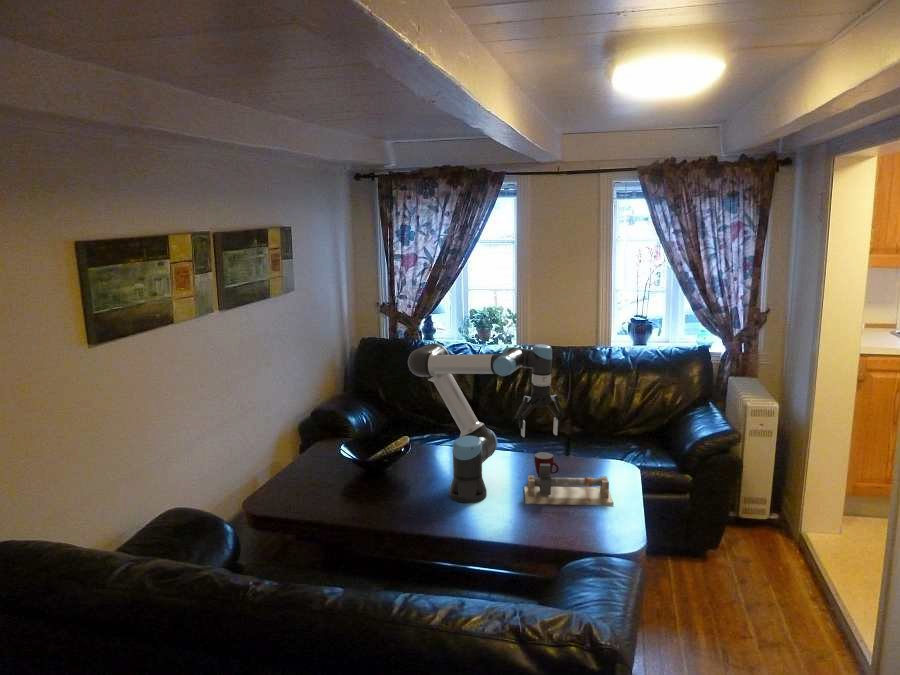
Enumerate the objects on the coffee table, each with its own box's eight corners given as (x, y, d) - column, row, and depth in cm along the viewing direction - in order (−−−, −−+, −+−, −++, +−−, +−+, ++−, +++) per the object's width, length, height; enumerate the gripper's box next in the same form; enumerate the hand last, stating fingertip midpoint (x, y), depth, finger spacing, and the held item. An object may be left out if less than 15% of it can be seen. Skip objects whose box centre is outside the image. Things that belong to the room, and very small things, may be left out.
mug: (560, 475, 276) (560, 453, 274) (557, 482, 268) (557, 460, 267) (536, 473, 279) (536, 451, 278) (532, 480, 272) (532, 457, 270)
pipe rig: (525, 503, 249) (525, 484, 248) (524, 488, 263) (524, 470, 262) (613, 505, 246) (614, 485, 245) (607, 490, 260) (608, 471, 259)
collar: (540, 494, 251) (540, 468, 249) (539, 486, 259) (539, 461, 257) (550, 494, 251) (550, 468, 249) (549, 486, 259) (549, 461, 257)
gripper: (513, 387, 245) (511, 440, 249) (574, 385, 249) (571, 436, 253) (508, 382, 252) (506, 433, 256) (567, 380, 256) (565, 430, 261)
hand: (539, 435), depth 255 cm, fingers open, 13 cm apart
